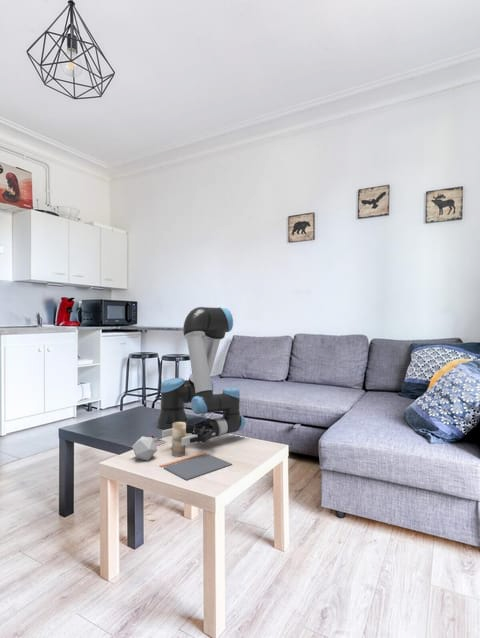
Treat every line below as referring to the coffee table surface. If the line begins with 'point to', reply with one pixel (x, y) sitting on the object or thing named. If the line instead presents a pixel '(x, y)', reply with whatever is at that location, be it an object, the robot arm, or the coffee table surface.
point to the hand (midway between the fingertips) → (171, 438)
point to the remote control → (158, 441)
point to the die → (144, 448)
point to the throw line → (182, 459)
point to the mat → (197, 466)
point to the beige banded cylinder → (178, 438)
